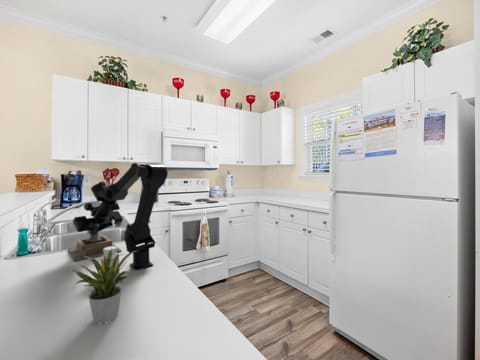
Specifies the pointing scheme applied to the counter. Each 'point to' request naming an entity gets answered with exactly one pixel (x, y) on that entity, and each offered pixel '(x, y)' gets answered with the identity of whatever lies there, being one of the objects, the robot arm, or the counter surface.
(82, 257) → the end holder
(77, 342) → the counter surface
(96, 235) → the grey stone pawn figure
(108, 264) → the house plant
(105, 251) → the supplement bottle
